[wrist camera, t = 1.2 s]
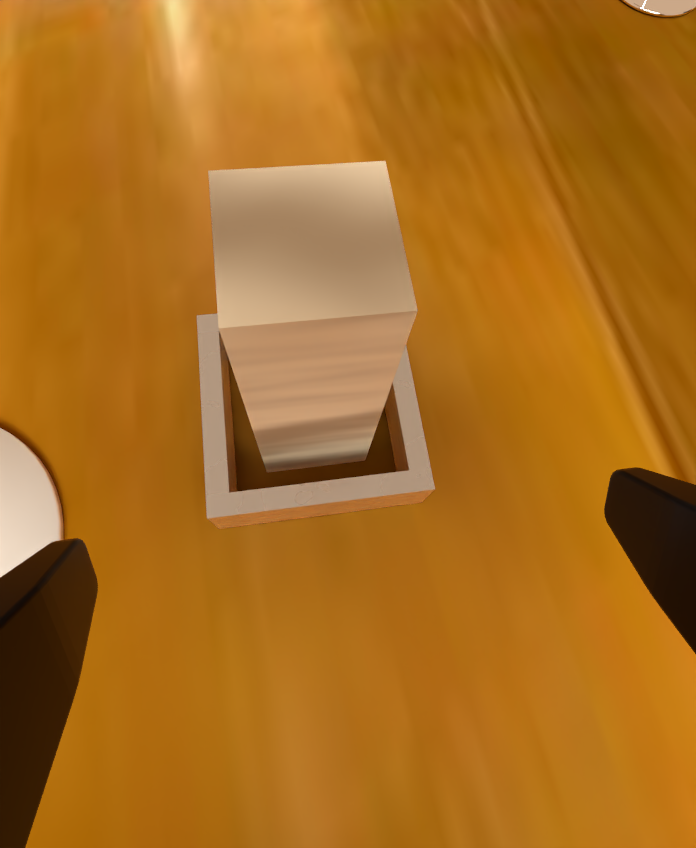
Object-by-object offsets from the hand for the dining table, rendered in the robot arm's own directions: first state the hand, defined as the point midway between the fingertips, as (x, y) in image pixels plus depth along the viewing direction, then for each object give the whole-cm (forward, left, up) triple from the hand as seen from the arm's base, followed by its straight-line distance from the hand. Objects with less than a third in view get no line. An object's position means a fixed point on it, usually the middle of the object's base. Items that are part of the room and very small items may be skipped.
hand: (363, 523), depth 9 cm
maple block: (+4, +7, -16) cm, 18 cm away
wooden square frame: (+4, +7, -16) cm, 18 cm away
